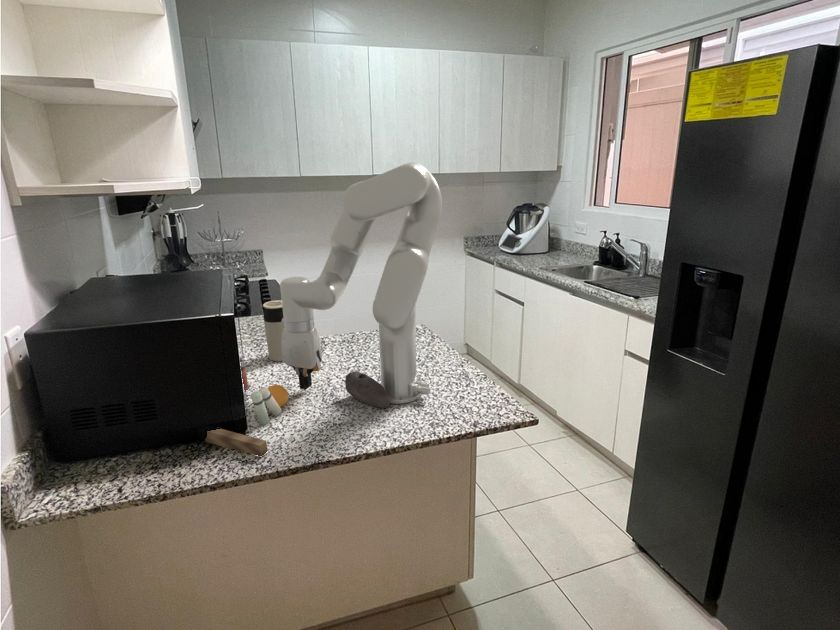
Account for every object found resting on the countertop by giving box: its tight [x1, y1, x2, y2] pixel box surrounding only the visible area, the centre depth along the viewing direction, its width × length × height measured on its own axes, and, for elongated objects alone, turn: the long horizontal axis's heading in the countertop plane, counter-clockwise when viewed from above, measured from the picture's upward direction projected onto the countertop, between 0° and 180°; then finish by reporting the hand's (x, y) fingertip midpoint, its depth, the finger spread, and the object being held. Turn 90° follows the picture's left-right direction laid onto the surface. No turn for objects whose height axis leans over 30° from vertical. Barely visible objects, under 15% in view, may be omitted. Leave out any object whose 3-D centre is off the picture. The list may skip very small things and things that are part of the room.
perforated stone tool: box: [344, 370, 391, 409], centre depth 127 cm, size 15×5×7 cm, turn 46°
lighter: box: [239, 356, 250, 392], centre depth 135 cm, size 8×3×10 cm, turn 62°
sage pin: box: [250, 390, 270, 426], centre depth 117 cm, size 2×2×8 cm
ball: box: [267, 384, 289, 408], centre depth 125 cm, size 6×6×6 cm
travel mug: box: [262, 299, 285, 362], centre depth 153 cm, size 8×8×18 cm
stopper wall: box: [204, 428, 269, 456], centre depth 109 cm, size 18×2×3 cm, turn 66°
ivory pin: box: [258, 386, 283, 417], centre depth 120 cm, size 2×2×8 cm
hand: (305, 387), depth 133 cm, fingers closed
